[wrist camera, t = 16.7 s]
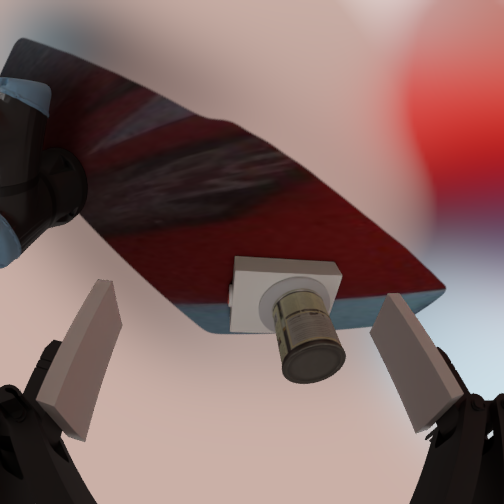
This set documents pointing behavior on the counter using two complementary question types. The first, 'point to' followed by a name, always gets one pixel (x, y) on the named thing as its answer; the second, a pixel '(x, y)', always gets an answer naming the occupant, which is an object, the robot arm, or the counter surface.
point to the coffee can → (306, 337)
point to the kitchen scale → (275, 288)
